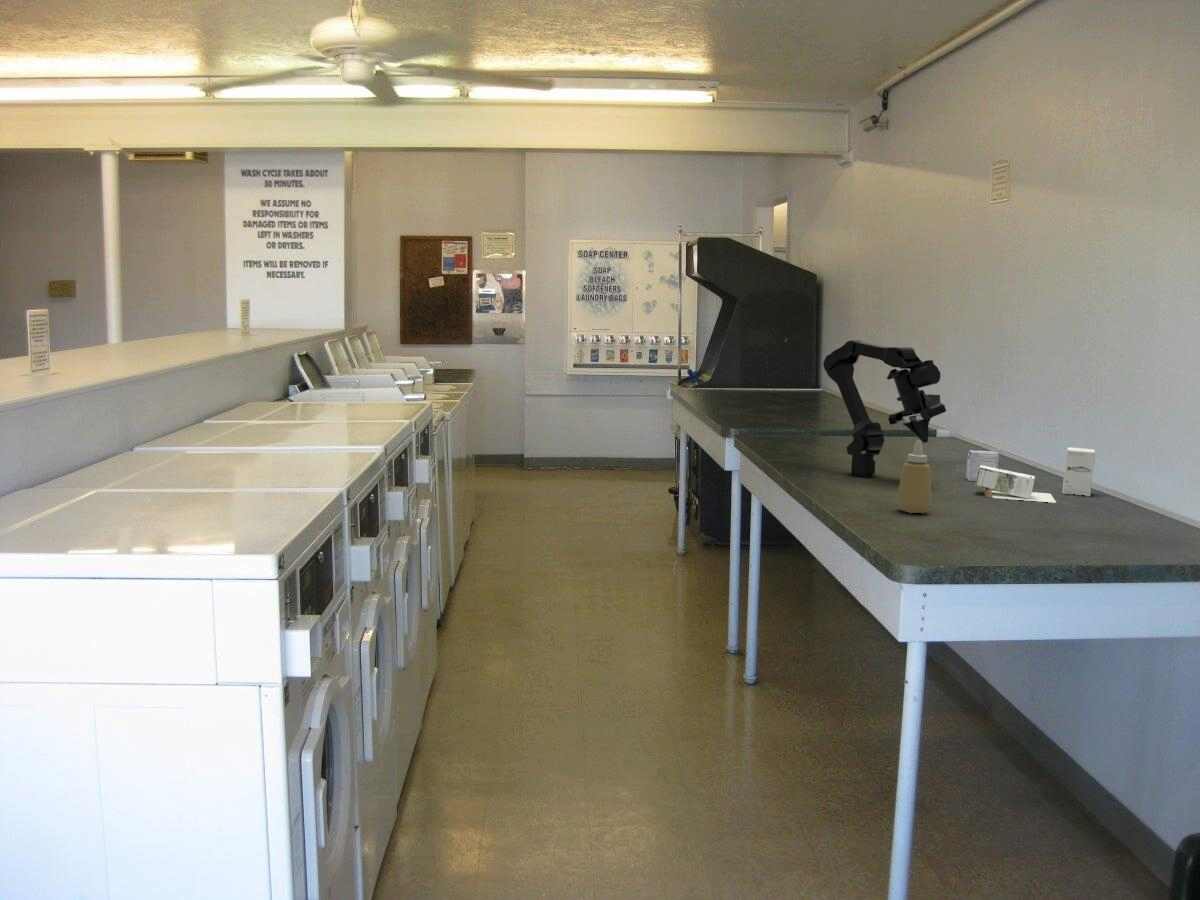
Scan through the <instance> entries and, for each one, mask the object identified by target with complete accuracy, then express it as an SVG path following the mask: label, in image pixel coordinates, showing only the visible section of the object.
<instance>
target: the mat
mask: <svg viewBox="0 0 1200 900" xmlns="http://www.w3.org/2000/svg"><path fill="white" fill-rule="evenodd" d="M992 499H994V500H995V499H996V500H1006V499H1008V500H1010V501H1018V500H1024V501H1023V502H1030V501H1037V502H1036V503H1042V502H1048V503H1047V504H1055V503H1056V504H1057V501H1056V500H1055V498H1054V497H1053V495H1052V494H1051V493H1047V492H1035V491H1034V492H1033V491H1032V494H1031V497H1030V498H1023V497H1019V496H1014V495H1010V494H1005V493H1001V492H997V491H992Z"/></svg>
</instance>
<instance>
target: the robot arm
mask: <svg viewBox="0 0 1200 900" xmlns="http://www.w3.org/2000/svg"><path fill="white" fill-rule="evenodd" d="M860 356H861V357H862V356H863V357H865V358H870V359H875V360H880V361H881V362H883V363H884V364H886V365H887V366H889V367H891V368H893V369H890V370H889V373H888V375H887V377H886V379H887V380H892V379H893V380H894V384H895V387H896V390H897V393H898V397H896V400H897V402H901V405H902V409H900V410H898V411H895V412H892V413H891V414H889V415H888V422H889V425H895V424H898V422H901V421H902V420H903V421H904V422H903V423H902V424H903V426H906V427H907V428H908V430H910V431H911V432H912V433H913V434H914V435H915V436H916V437H917V438H918V440H921V442H922V444H925V443H926V444H927V443H928V441H929V424H930V421H931V419H933V418H934V417H937V416H939V415H941V414H943V413H946V412H947V409H946V405H945V404H944V403H942V402H941V395H940V394H926V392H925V391H924V390H923V389H920V388H924V387H928V386H933V385H936V384H939V382H940V380H941V372H940V370H939V368H938V366H937V365H936V364H934V363H935V362H934V360H933V359H927V360H924V361H922V360H921V358H919V356H918V355H917V354H916V352H915V349H914V348H913V347H909V346H905V347H903V346H901V347H900V346H899V347H897V346H895V347H894V346H893V347H892V346H891V347H890V346H889V347H888V346H884V345H879V344H873V343H870V342H864V341H862V340H859V339H858V340H856V339H855V340H854V339H853V340H852V339H850V340H848V341H846V342H845V343H844V344H843V345H842V346H840V347H838V348H837V349H835V350H833V351H832V352H831V353H829V354H828V355H826V356H825V358H824V360H823V362H822V363H823V364H822V365H823V369H824V370H825V372H826V374H827V376H828V377H829V378H830V379H831V380H832V381H833V382H834V383H835V384H836V385H837V387H838V389H839V392H840V395H841V397H842V400H843V402H844V404H845V407H846V410H847V412H848V414H849V417H850V420H851V422H852V424H853V430H852V434H851V435H852V438H853V440H852V441H851V442H850V443H849V444H848V445H847V446H846V451H847V452H846V453H847V455H850V456H851V468H850V469H851V470H850V472H849V473H850V474H849V475H850V476H853V477H865V478H866V477H867V478H872V477H873V478H874V475H876V466H877V465H876V463H877V460H876V459H875V455H876V456H879V455H880V453H881V450H882V448H883V446H884V443H885V437H884V435H885V433H884V431H883V430H882V426H881V423H880V422H873V421H872V420H871V418H870V416H869V414H868V412H867V409H866V407H865V404H864V402H863V400H862V397H861V395H860V392H859V390H858V387H857V385H856V383H855V380H854V374H855V373H854V372H855V366H854V365H855V364H857V362H858V360H859V358H860ZM896 368H899V369H900V370H898V369H896Z"/></svg>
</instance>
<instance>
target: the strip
mask: <svg viewBox="0 0 1200 900" xmlns="http://www.w3.org/2000/svg"><path fill="white" fill-rule="evenodd" d="M982 491H984V492H983V495H984V494H985V495H984V498H992V490H987V489H983V488H982ZM992 499H993V498H992Z"/></svg>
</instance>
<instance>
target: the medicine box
mask: <svg viewBox="0 0 1200 900" xmlns="http://www.w3.org/2000/svg"><path fill="white" fill-rule="evenodd" d="M999 456H1000V455H999V453H998V452H996V451H989V450H971V449H970V450H967V458H966V459H967V460H966V469H965V470H966V471H965V472H966V473H965V479H966V480H967V479H968V480H967V481H969V482H976V479H977V475H978V471H979V467H980V465H985V466H989V467H994V468H998V467H999V466H998V465H999V464H998V463H999Z"/></svg>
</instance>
